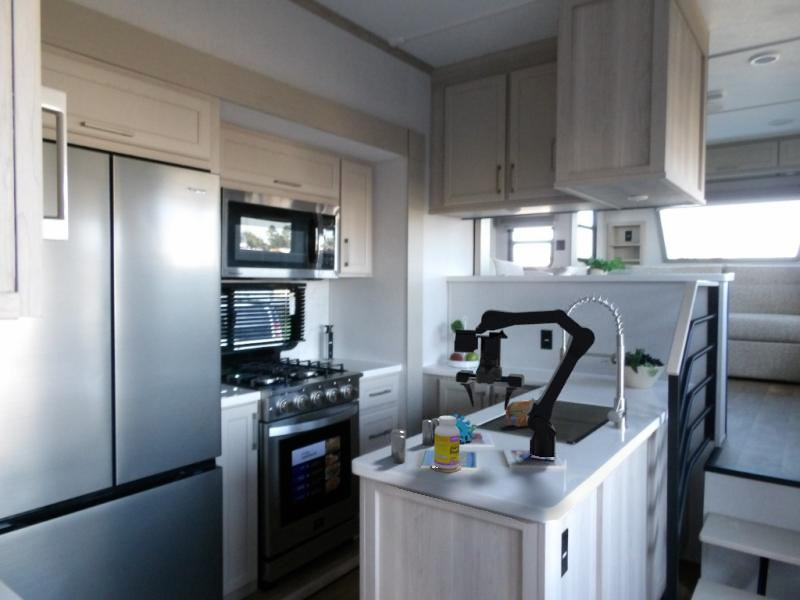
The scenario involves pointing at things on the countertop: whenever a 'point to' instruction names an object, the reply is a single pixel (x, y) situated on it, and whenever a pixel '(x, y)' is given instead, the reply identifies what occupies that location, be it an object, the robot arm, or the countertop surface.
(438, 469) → the cork coaster
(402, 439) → the spacers
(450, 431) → the supplement bottle
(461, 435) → the gear
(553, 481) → the countertop surface
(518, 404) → the orange snack packet
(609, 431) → the countertop surface
